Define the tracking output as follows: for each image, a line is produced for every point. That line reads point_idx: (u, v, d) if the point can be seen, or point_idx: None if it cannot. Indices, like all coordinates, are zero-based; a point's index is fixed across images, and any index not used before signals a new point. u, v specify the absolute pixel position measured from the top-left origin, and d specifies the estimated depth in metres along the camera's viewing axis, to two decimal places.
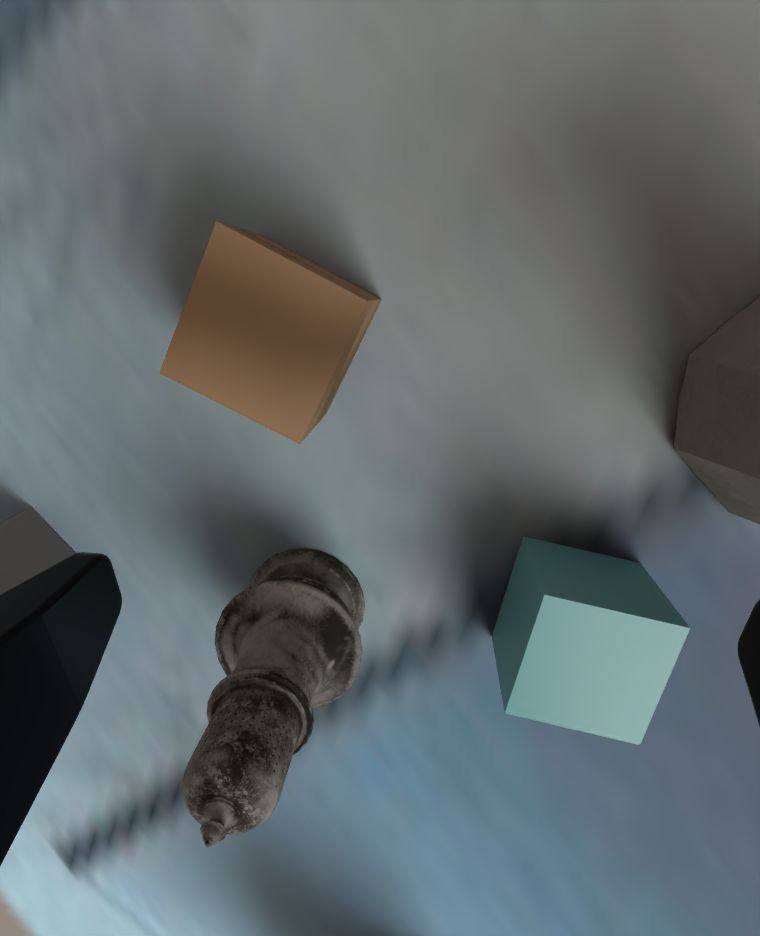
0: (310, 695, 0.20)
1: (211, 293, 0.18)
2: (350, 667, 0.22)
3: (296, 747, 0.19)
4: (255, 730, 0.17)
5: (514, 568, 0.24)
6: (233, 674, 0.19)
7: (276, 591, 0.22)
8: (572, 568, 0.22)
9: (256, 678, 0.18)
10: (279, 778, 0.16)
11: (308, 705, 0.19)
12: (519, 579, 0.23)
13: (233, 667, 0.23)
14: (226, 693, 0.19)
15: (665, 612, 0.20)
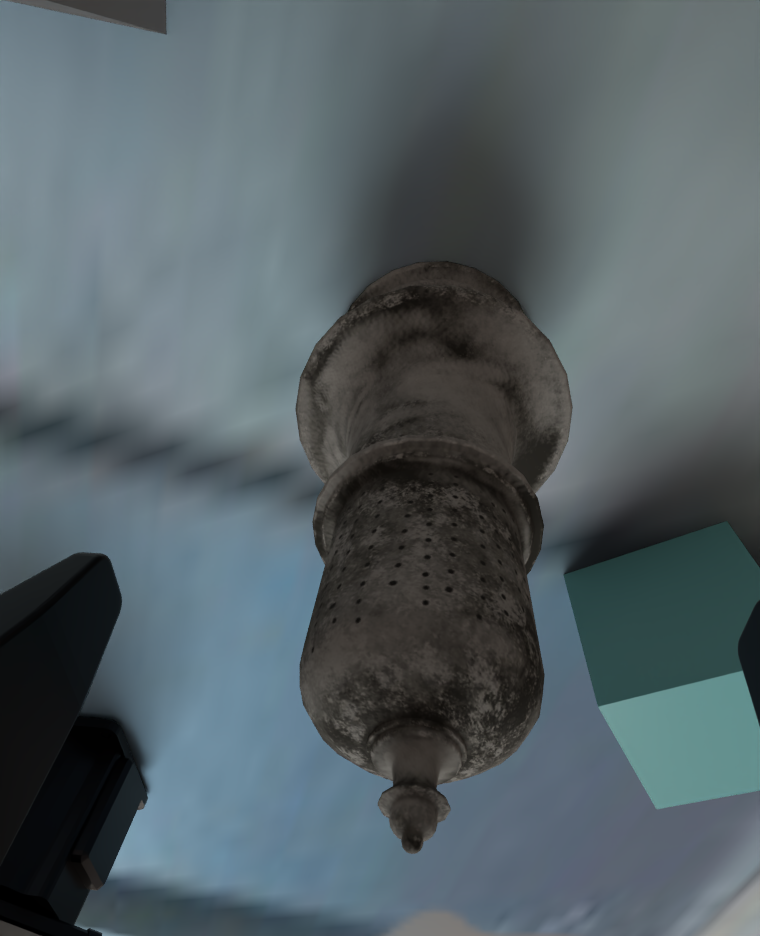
0: None
1: None
2: None
3: None
4: (532, 614, 0.07)
5: (679, 542, 0.17)
6: (478, 447, 0.08)
7: (524, 343, 0.11)
8: None
9: (513, 490, 0.08)
10: None
11: None
12: (699, 567, 0.16)
13: (332, 379, 0.12)
14: (439, 468, 0.08)
15: None
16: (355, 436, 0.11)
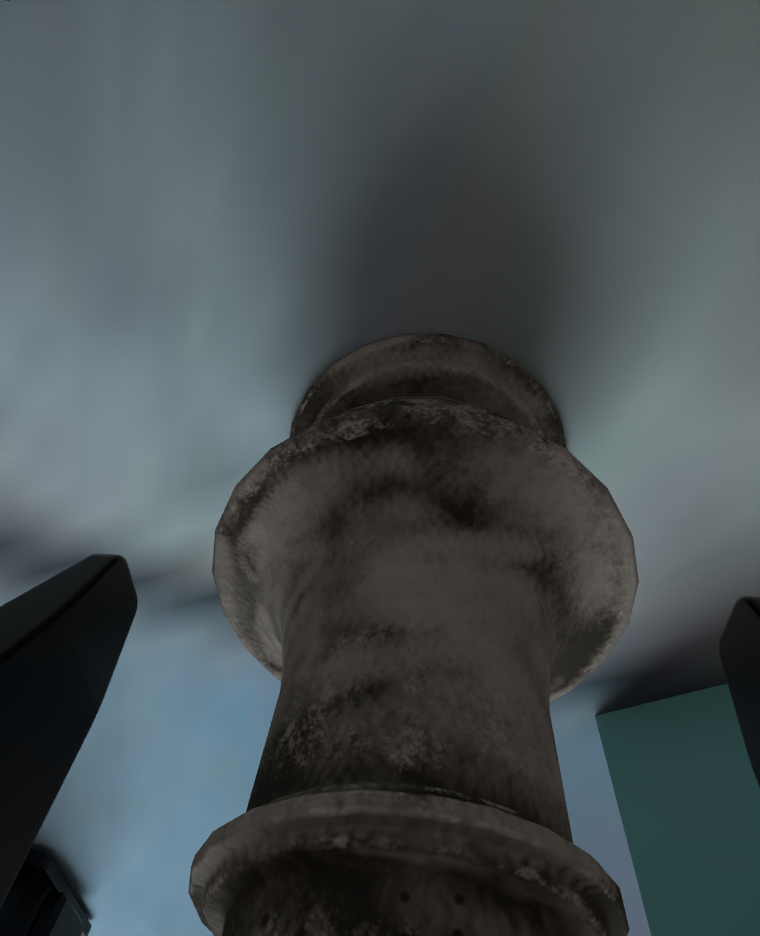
0: None
1: None
2: None
3: None
4: None
5: None
6: (504, 823, 0.04)
7: (568, 495, 0.07)
8: None
9: (577, 900, 0.04)
10: None
11: None
12: None
13: (261, 540, 0.07)
14: (422, 872, 0.04)
15: None
16: (288, 663, 0.06)
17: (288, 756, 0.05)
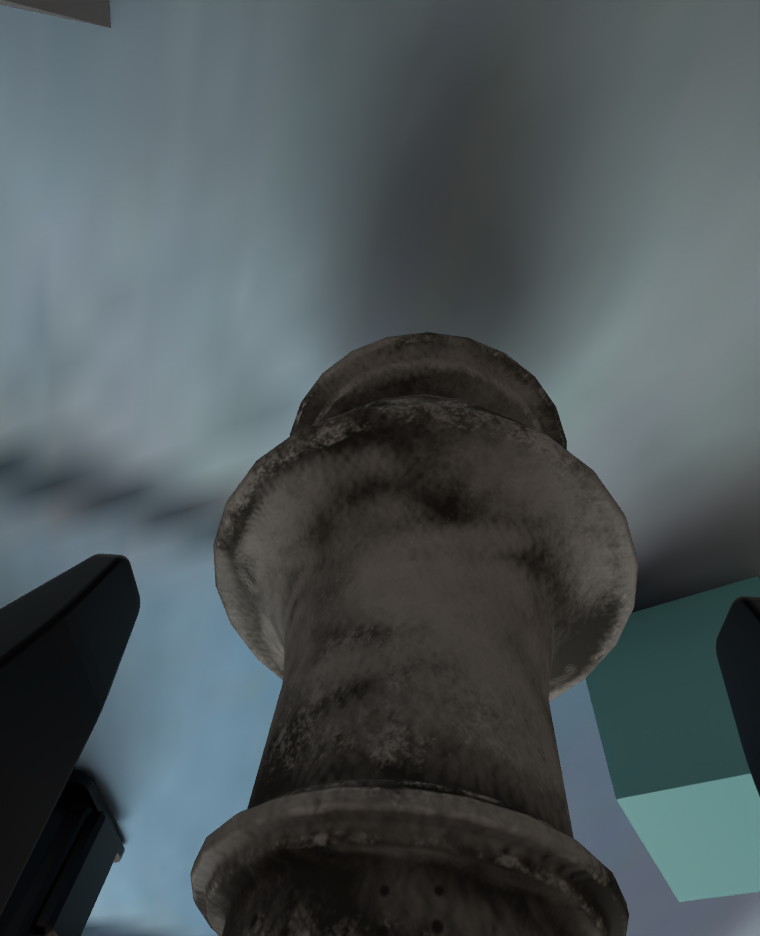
0: None
1: None
2: None
3: None
4: None
5: (704, 598, 0.16)
6: (480, 813, 0.04)
7: (553, 481, 0.07)
8: None
9: (562, 886, 0.04)
10: None
11: None
12: None
13: (257, 551, 0.08)
14: (402, 867, 0.04)
15: None
16: (286, 670, 0.06)
17: (279, 760, 0.05)
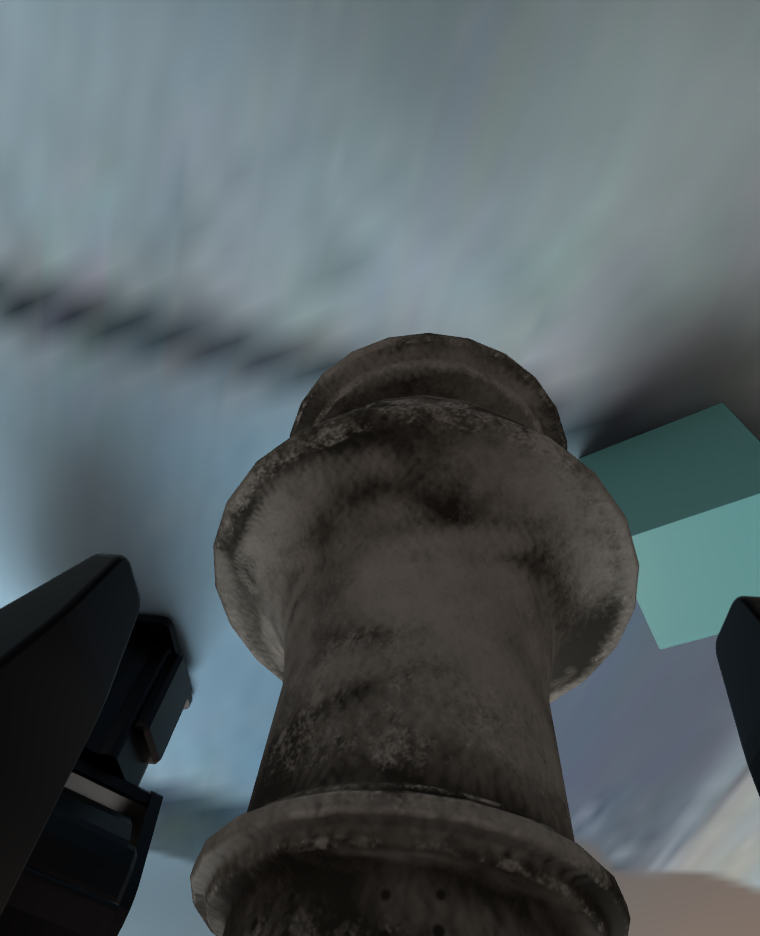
0: None
1: None
2: None
3: None
4: None
5: (681, 422, 0.20)
6: (482, 816, 0.04)
7: (554, 483, 0.07)
8: None
9: (565, 890, 0.04)
10: None
11: None
12: (698, 438, 0.19)
13: (257, 551, 0.08)
14: (405, 869, 0.04)
15: None
16: (286, 671, 0.06)
17: (280, 762, 0.05)
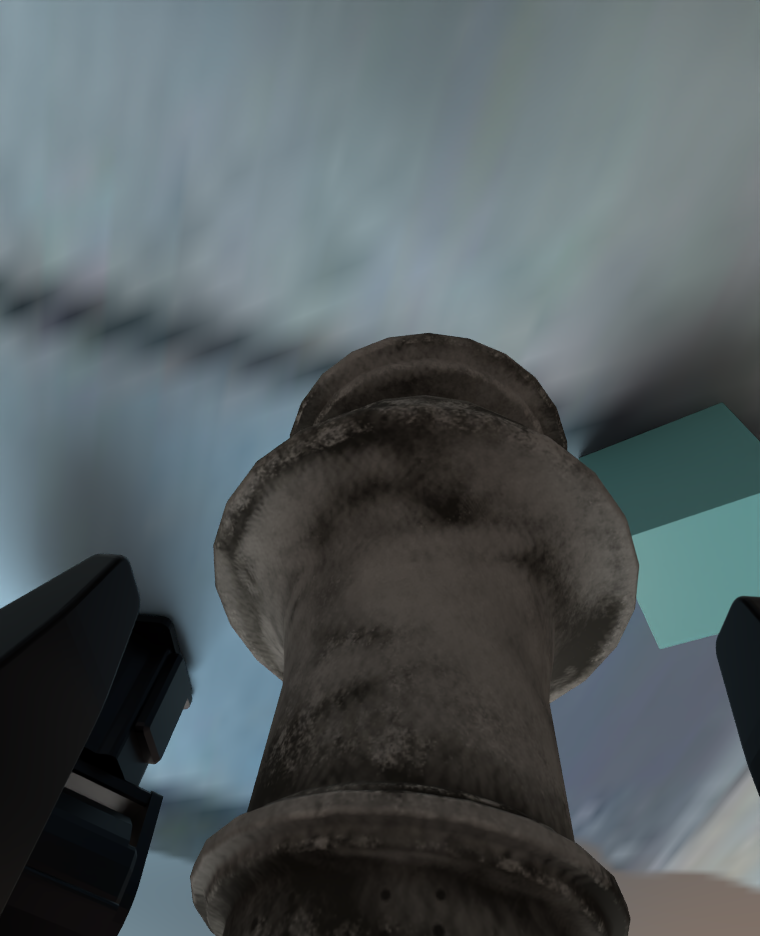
0: None
1: None
2: None
3: None
4: None
5: (681, 422, 0.20)
6: (482, 816, 0.04)
7: (554, 483, 0.07)
8: None
9: (564, 890, 0.04)
10: None
11: None
12: (698, 437, 0.19)
13: (257, 552, 0.08)
14: (403, 869, 0.04)
15: None
16: (286, 671, 0.06)
17: (280, 762, 0.05)
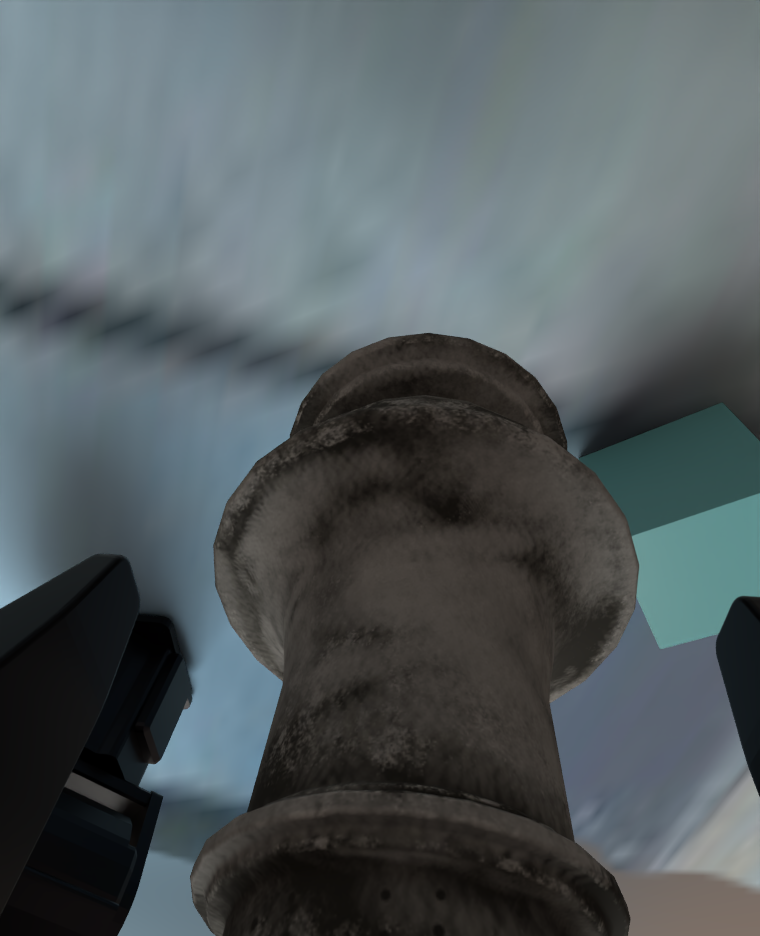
0: None
1: None
2: None
3: None
4: None
5: (681, 422, 0.20)
6: (482, 817, 0.04)
7: (554, 483, 0.07)
8: None
9: (564, 890, 0.04)
10: None
11: None
12: (698, 437, 0.19)
13: (257, 552, 0.08)
14: (403, 869, 0.04)
15: None
16: (286, 671, 0.06)
17: (280, 762, 0.05)
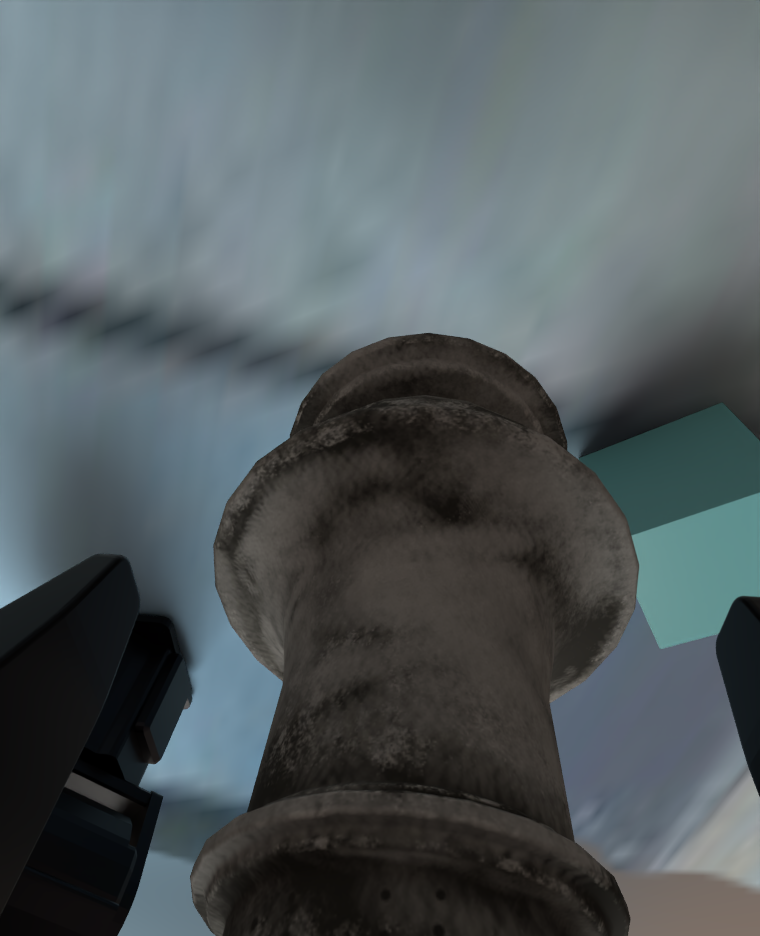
0: None
1: None
2: None
3: None
4: None
5: (681, 422, 0.20)
6: (482, 817, 0.04)
7: (554, 483, 0.07)
8: None
9: (564, 890, 0.04)
10: None
11: None
12: (698, 437, 0.19)
13: (257, 552, 0.08)
14: (403, 869, 0.04)
15: None
16: (286, 671, 0.06)
17: (279, 762, 0.05)
